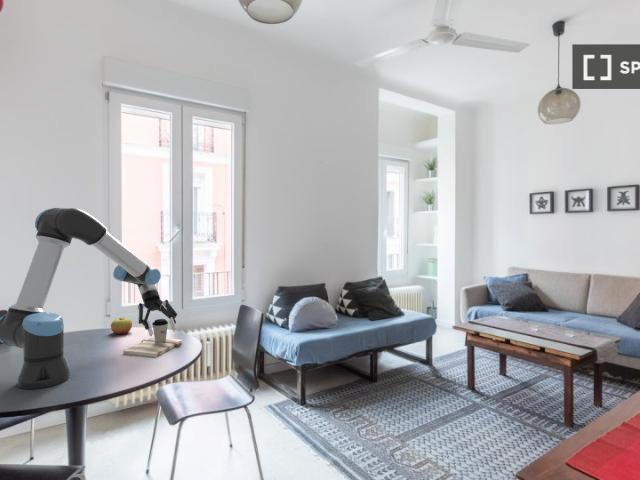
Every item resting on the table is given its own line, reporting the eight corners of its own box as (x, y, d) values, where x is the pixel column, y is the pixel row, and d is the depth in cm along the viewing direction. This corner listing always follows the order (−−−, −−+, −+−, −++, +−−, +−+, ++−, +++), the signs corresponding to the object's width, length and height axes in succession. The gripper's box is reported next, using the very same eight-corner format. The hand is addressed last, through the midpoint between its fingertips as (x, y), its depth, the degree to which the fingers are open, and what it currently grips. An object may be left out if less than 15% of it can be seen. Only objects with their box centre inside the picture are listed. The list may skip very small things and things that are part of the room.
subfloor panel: (159, 357, 163) (159, 353, 162) (120, 353, 167) (120, 349, 166) (185, 343, 182) (185, 339, 182) (149, 340, 186) (149, 336, 186)
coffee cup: (148, 342, 177) (148, 321, 176) (159, 338, 183) (159, 317, 183) (161, 344, 175) (161, 322, 174) (171, 340, 181) (171, 319, 181)
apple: (106, 334, 194) (106, 318, 194) (121, 329, 204) (121, 314, 203) (121, 336, 191) (121, 320, 191) (136, 331, 200) (136, 316, 200)
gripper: (170, 295, 197) (184, 332, 187) (122, 301, 181) (135, 342, 171) (174, 286, 193) (189, 323, 183) (126, 291, 177) (140, 332, 167)
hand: (163, 332), depth 177 cm, fingers open, 10 cm apart
